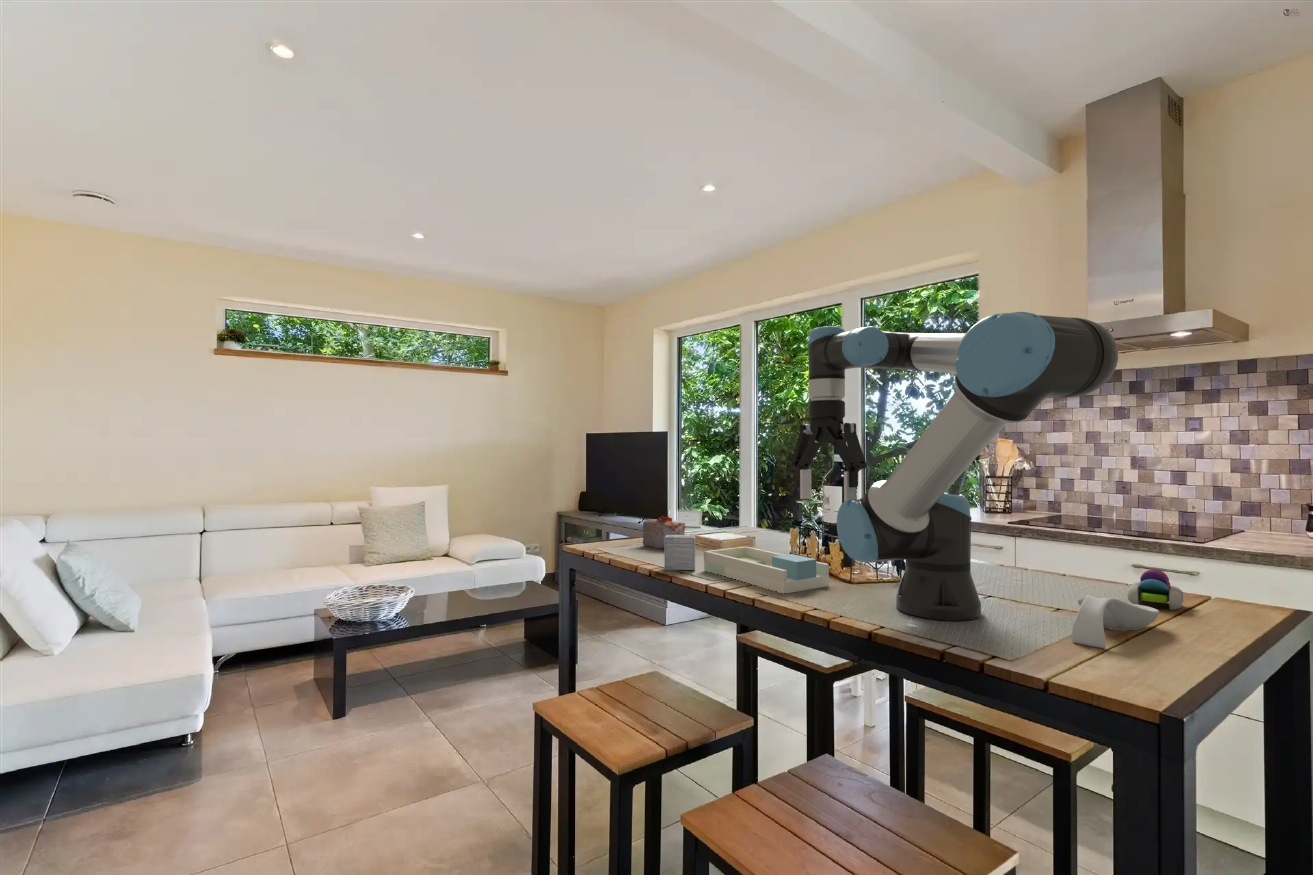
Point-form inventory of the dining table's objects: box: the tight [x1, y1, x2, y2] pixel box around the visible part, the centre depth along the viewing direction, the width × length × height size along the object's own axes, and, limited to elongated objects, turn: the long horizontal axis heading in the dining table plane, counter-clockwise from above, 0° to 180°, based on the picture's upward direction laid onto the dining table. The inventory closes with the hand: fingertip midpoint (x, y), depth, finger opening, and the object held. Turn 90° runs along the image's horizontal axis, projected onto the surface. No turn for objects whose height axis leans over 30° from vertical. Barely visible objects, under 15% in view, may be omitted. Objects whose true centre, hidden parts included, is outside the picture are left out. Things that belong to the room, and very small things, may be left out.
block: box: [772, 553, 817, 580], centre depth 144 cm, size 8×6×4 cm
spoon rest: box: [1071, 594, 1160, 649], centre depth 109 cm, size 24×12×7 cm, turn 132°
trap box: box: [703, 546, 830, 595], centre depth 152 cm, size 29×14×5 cm, turn 32°
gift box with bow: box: [642, 515, 686, 549], centre depth 197 cm, size 14×8×10 cm, turn 52°
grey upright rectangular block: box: [663, 534, 696, 572], centre depth 163 cm, size 8×4×9 cm, turn 84°
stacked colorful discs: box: [1126, 568, 1184, 611], centre depth 127 cm, size 8×10×7 cm
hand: (827, 501), depth 135 cm, fingers open, 12 cm apart
